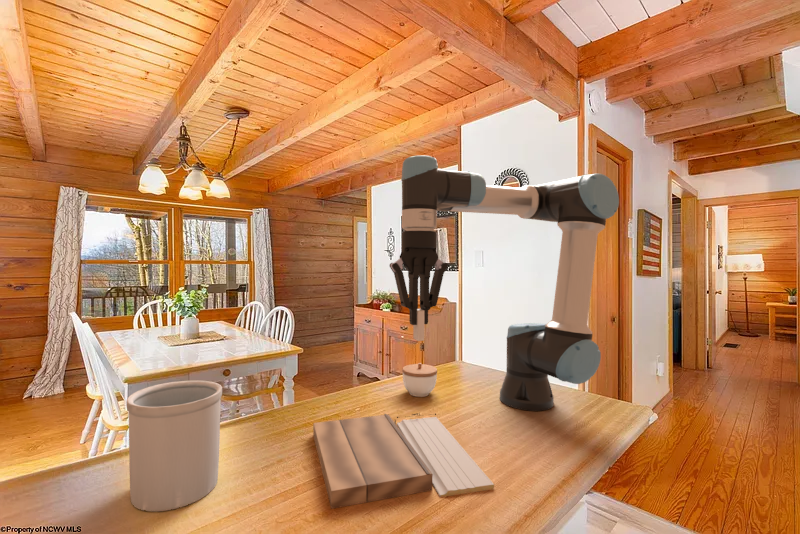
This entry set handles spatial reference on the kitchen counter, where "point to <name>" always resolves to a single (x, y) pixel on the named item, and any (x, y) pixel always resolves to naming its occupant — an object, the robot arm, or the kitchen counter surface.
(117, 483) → the kitchen counter surface
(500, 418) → the kitchen counter surface
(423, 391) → the lidded jar
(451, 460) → the baseboard molding
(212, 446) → the utensil holder
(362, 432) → the grooved tan panel
